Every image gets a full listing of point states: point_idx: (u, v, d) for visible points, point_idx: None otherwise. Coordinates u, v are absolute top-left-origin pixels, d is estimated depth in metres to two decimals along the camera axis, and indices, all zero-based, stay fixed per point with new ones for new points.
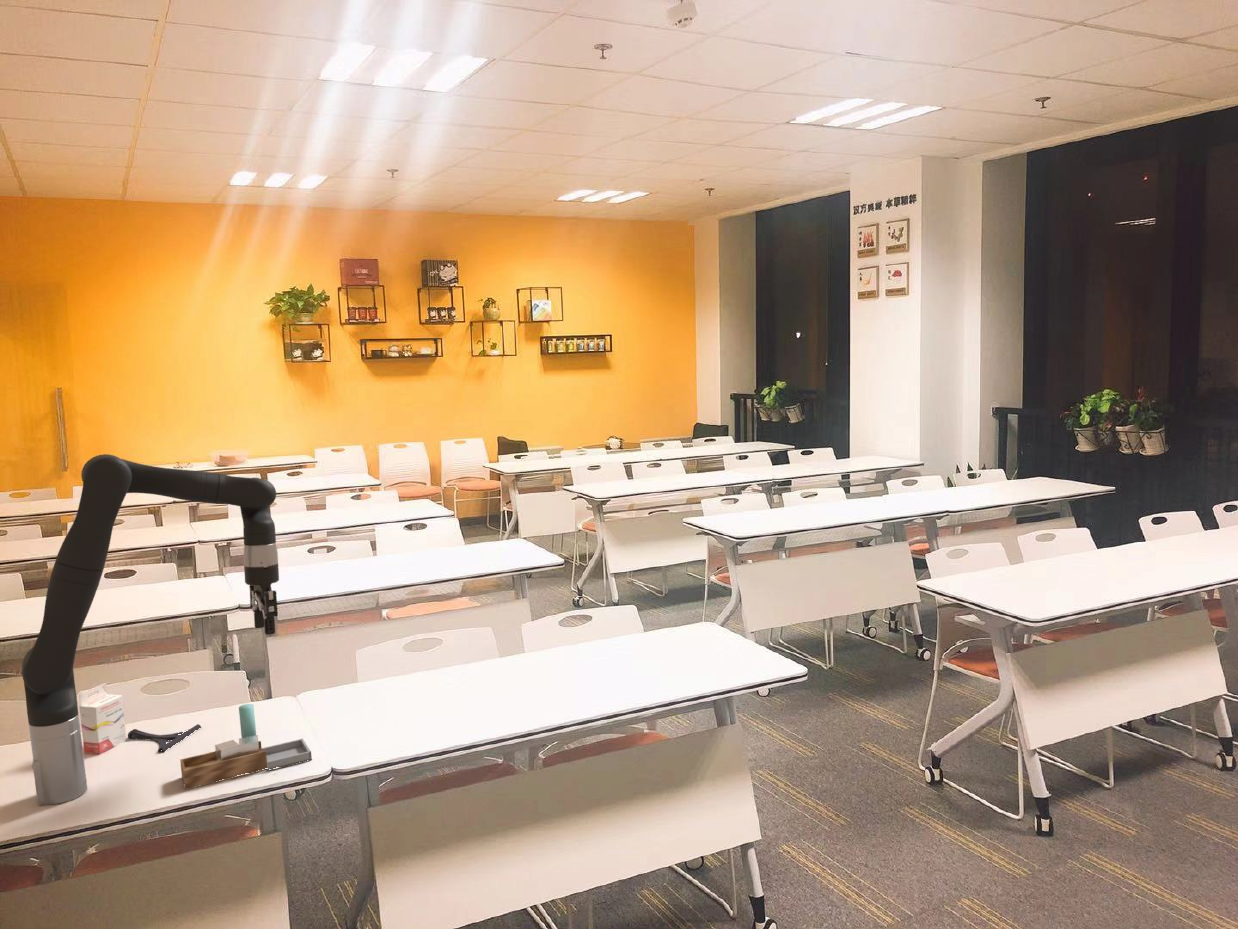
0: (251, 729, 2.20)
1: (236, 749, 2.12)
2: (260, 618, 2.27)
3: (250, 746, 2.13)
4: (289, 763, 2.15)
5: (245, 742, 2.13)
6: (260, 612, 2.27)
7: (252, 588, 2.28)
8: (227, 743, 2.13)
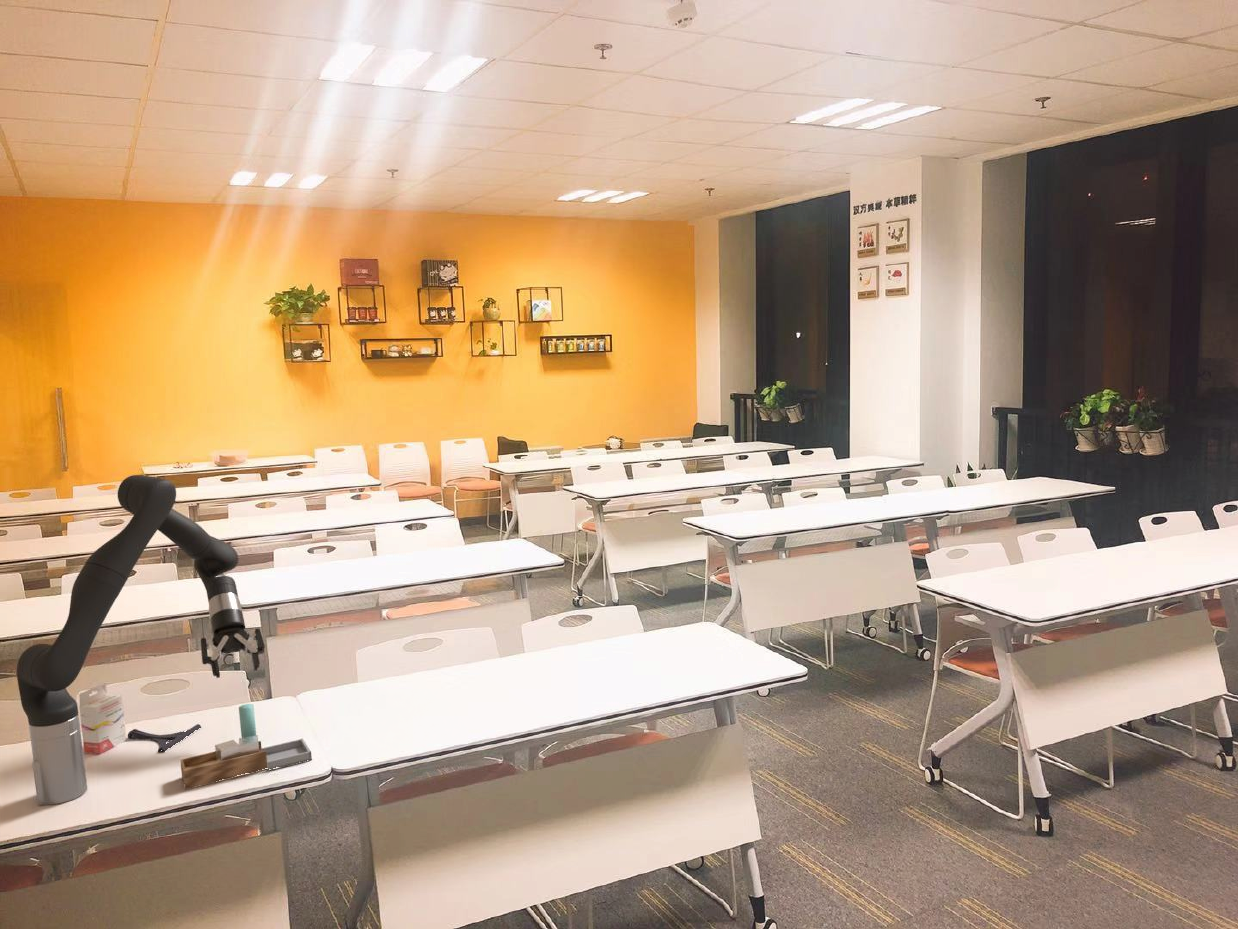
0: (251, 729, 2.20)
1: (236, 749, 2.12)
2: None
3: (250, 746, 2.13)
4: (289, 763, 2.15)
5: (245, 742, 2.13)
6: None
7: (206, 641, 2.31)
8: (227, 743, 2.13)
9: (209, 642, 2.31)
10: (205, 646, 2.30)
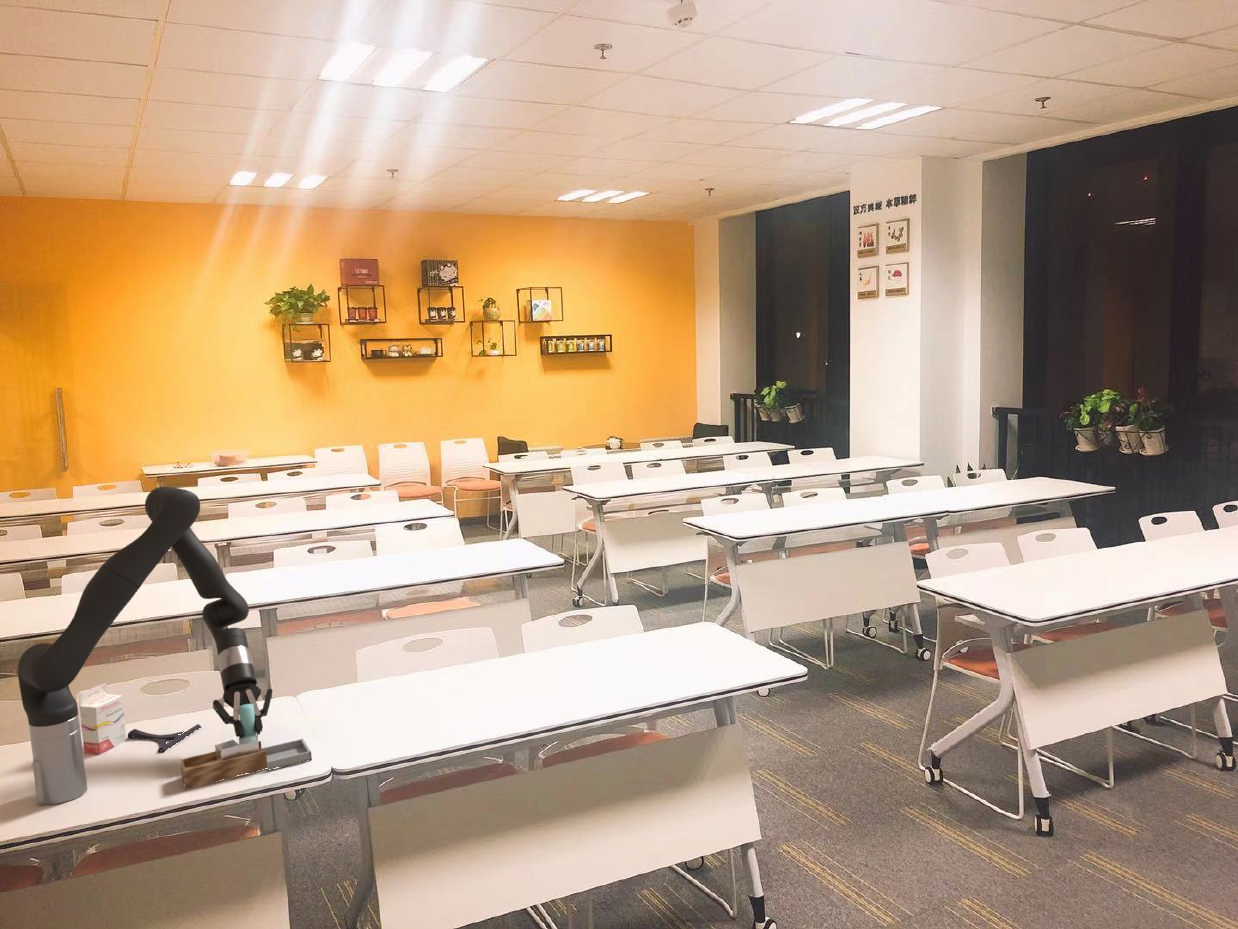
0: (251, 729, 2.20)
1: (236, 749, 2.12)
2: None
3: (250, 746, 2.13)
4: (289, 763, 2.15)
5: (245, 742, 2.13)
6: None
7: None
8: (227, 743, 2.13)
9: (222, 701, 2.22)
10: (221, 707, 2.20)
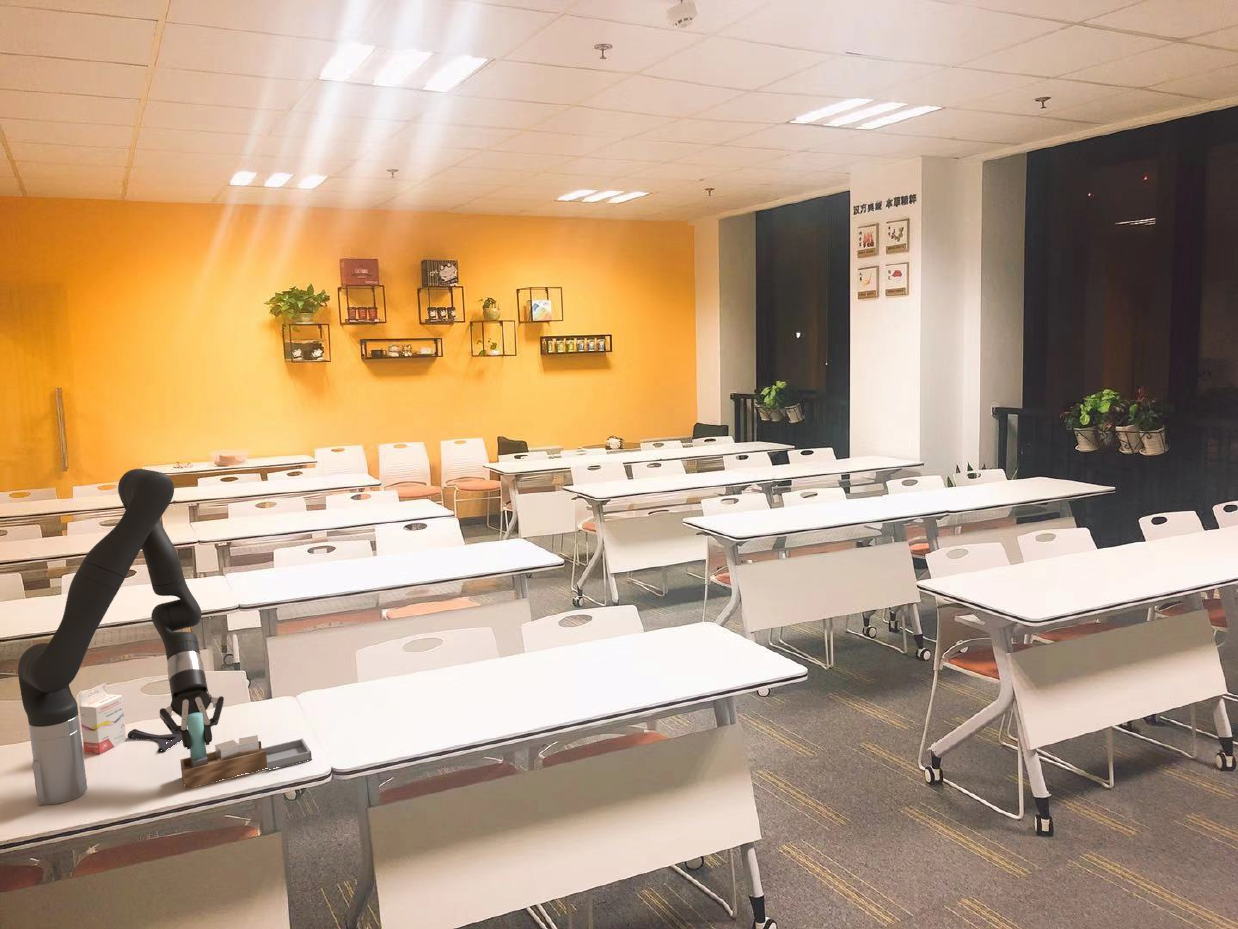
0: (200, 739, 2.08)
1: (236, 749, 2.12)
2: None
3: (250, 746, 2.13)
4: (289, 763, 2.15)
5: (245, 742, 2.13)
6: None
7: None
8: (227, 743, 2.13)
9: (169, 710, 2.10)
10: (168, 716, 2.08)
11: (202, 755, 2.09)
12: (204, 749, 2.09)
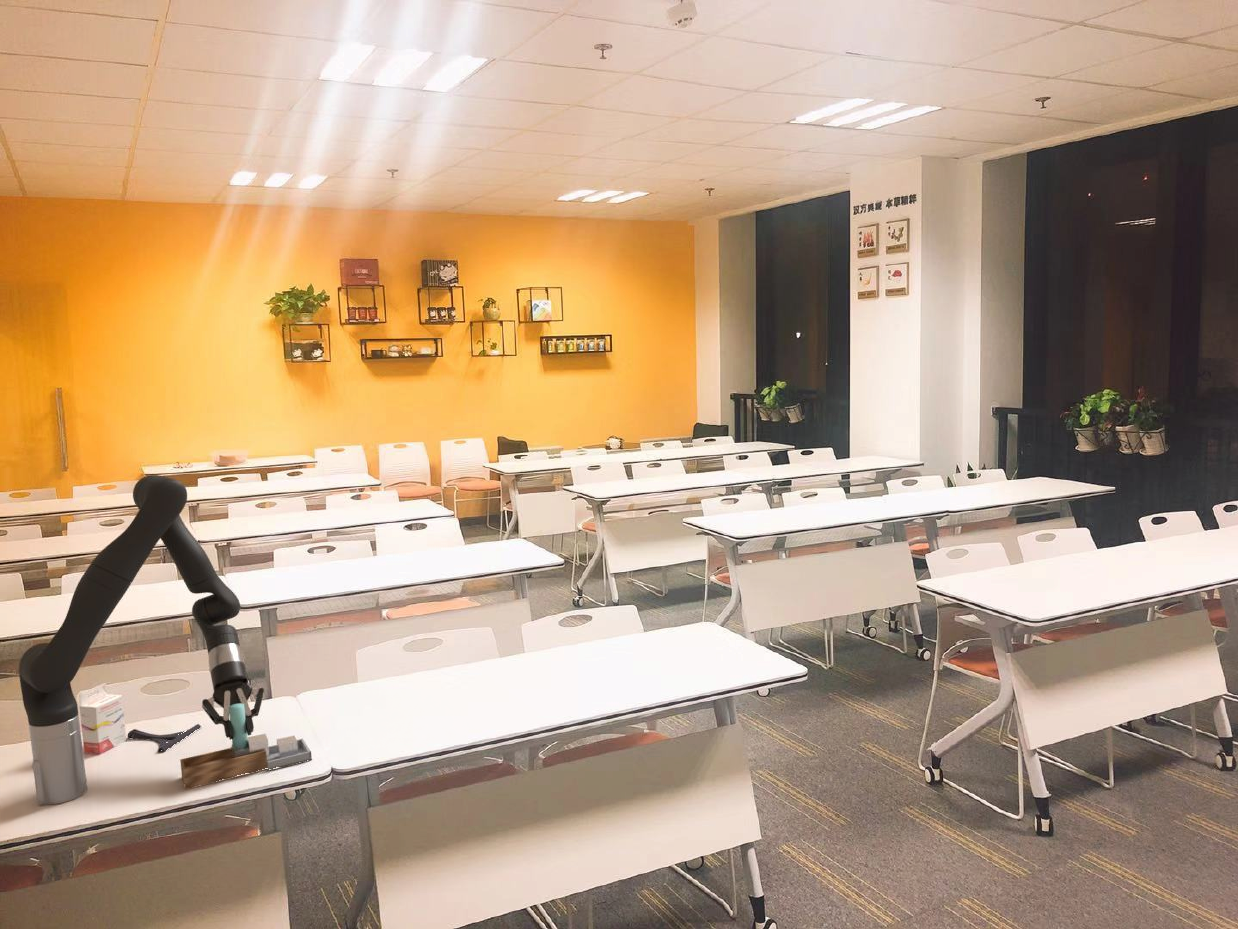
0: (242, 729, 2.13)
1: (265, 743, 2.14)
2: None
3: (294, 751, 2.18)
4: (289, 763, 2.15)
5: None
6: None
7: None
8: (258, 737, 2.16)
9: (211, 701, 2.14)
10: (211, 706, 2.13)
11: (244, 745, 2.13)
12: (246, 739, 2.14)
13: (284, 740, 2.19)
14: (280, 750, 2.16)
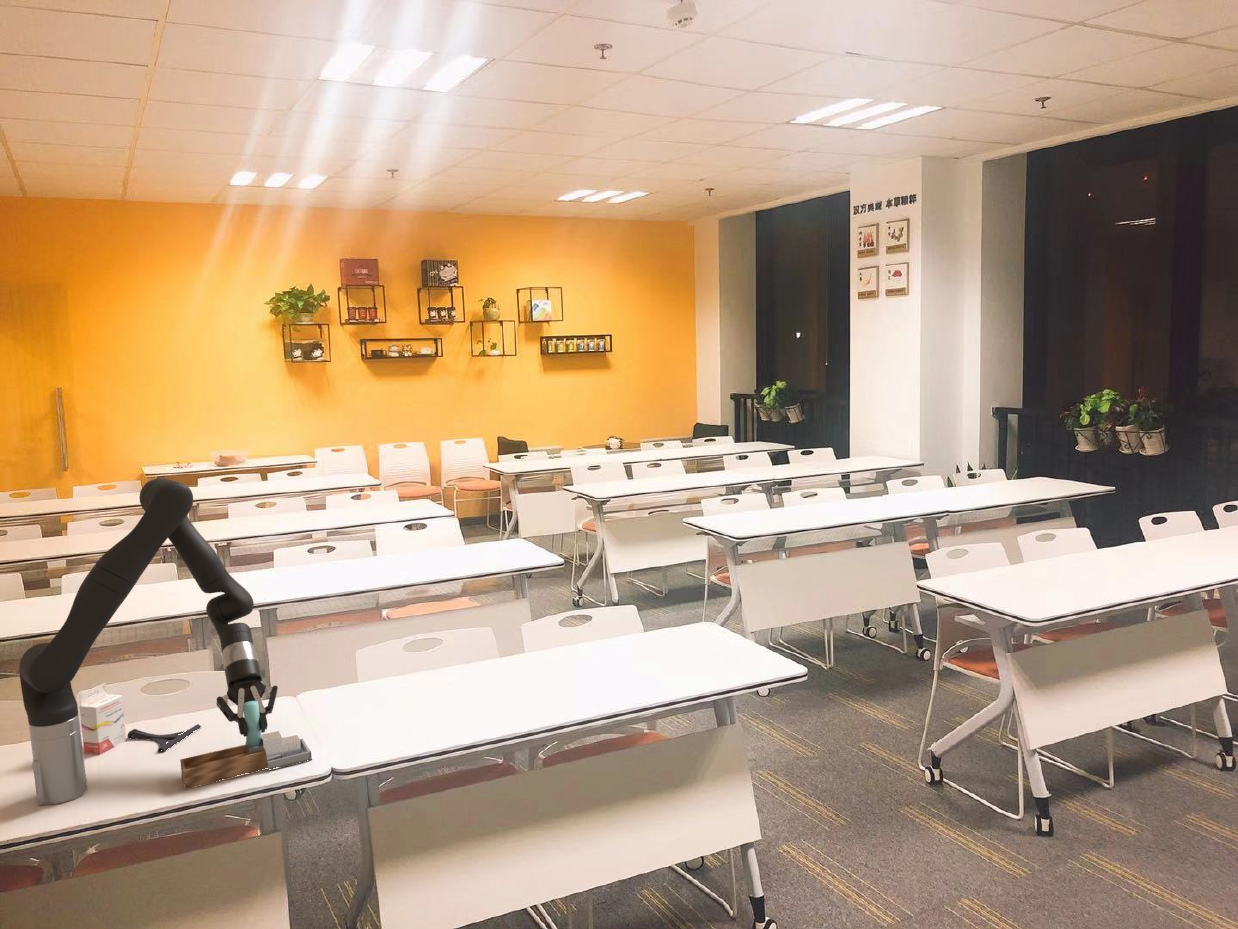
0: (256, 727, 2.14)
1: (278, 741, 2.16)
2: None
3: (297, 751, 2.18)
4: (289, 763, 2.15)
5: None
6: None
7: None
8: (271, 734, 2.18)
9: (226, 698, 2.16)
10: (225, 704, 2.14)
11: (258, 742, 2.15)
12: (260, 736, 2.15)
13: (286, 739, 2.19)
14: (283, 749, 2.16)
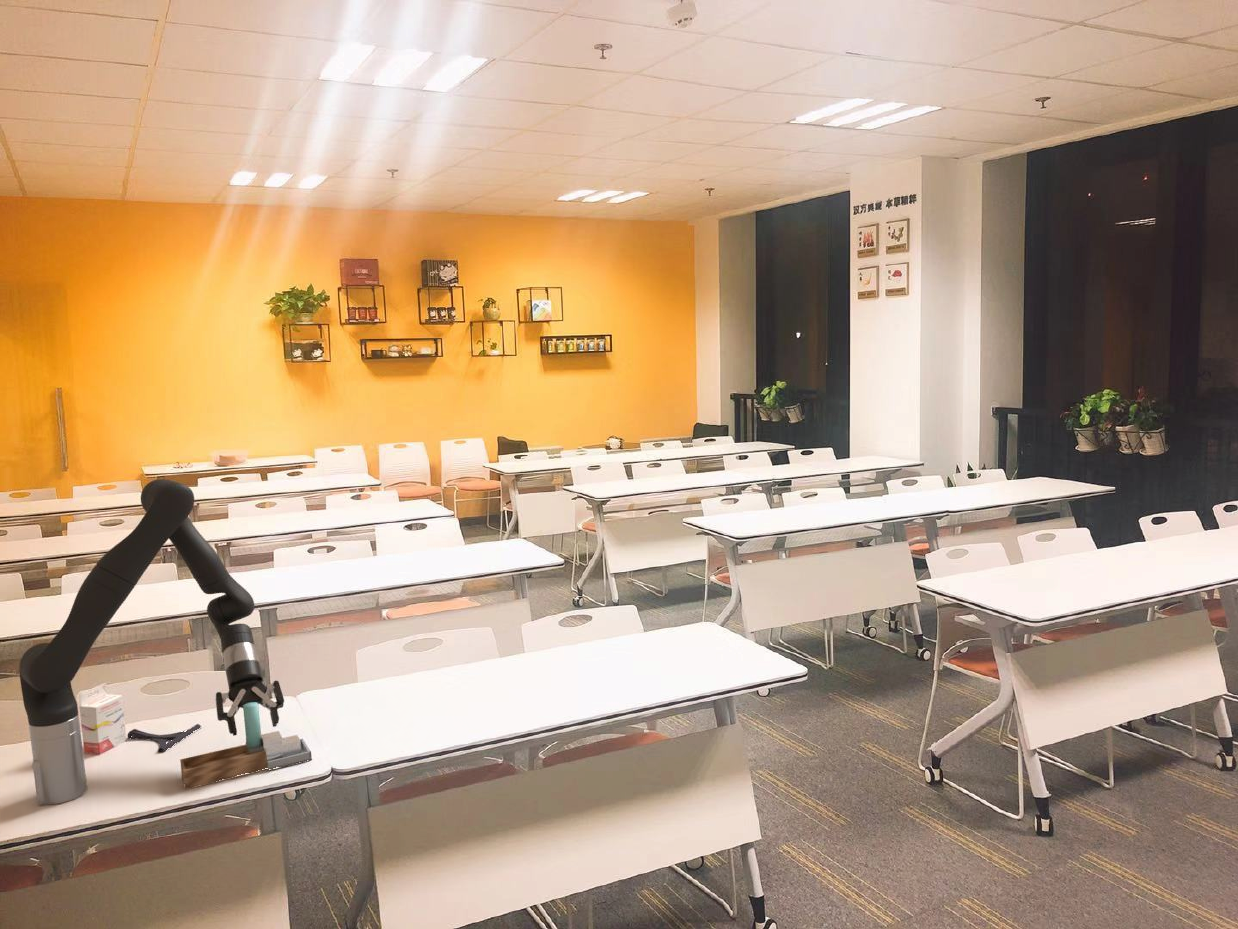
0: (256, 728, 2.14)
1: (278, 741, 2.16)
2: None
3: (297, 750, 2.18)
4: (289, 763, 2.15)
5: None
6: None
7: (221, 696, 2.16)
8: (271, 734, 2.18)
9: (225, 696, 2.16)
10: (221, 701, 2.14)
11: (258, 744, 2.14)
12: (260, 738, 2.15)
13: (287, 739, 2.19)
14: (283, 749, 2.16)
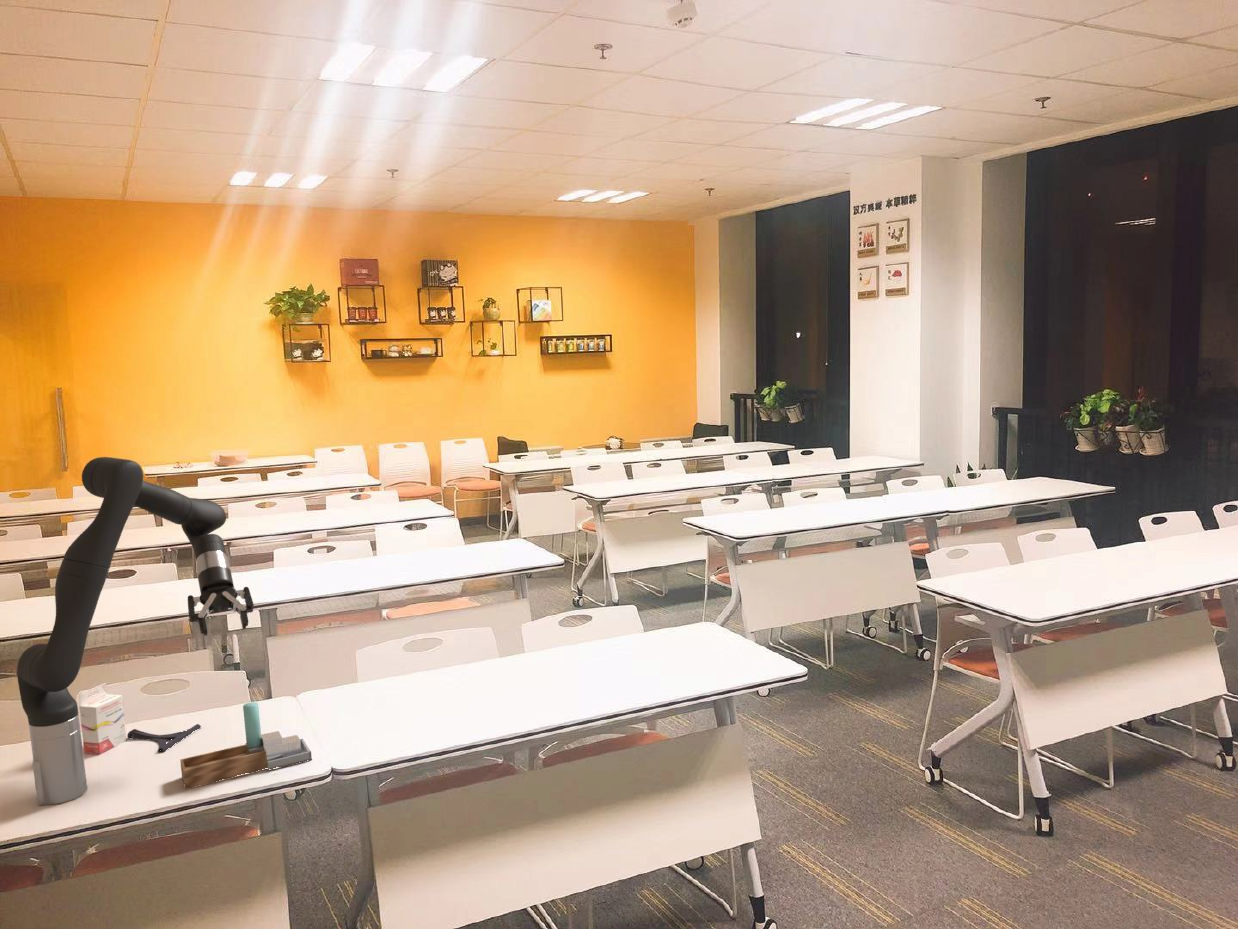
0: (256, 728, 2.14)
1: (278, 741, 2.16)
2: None
3: (297, 750, 2.18)
4: (289, 763, 2.15)
5: None
6: None
7: (193, 599, 2.25)
8: (271, 734, 2.18)
9: (196, 600, 2.26)
10: (192, 603, 2.24)
11: (258, 744, 2.14)
12: (260, 738, 2.15)
13: (287, 739, 2.19)
14: (283, 749, 2.16)
